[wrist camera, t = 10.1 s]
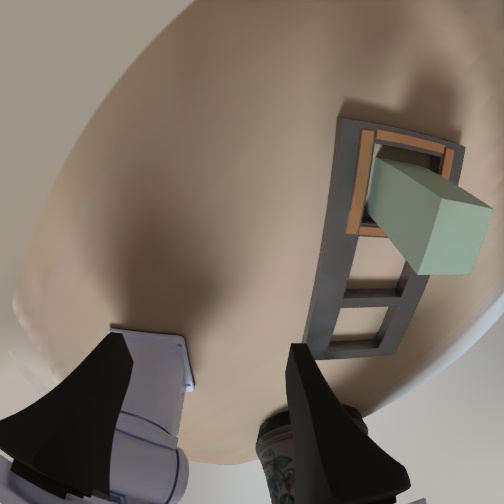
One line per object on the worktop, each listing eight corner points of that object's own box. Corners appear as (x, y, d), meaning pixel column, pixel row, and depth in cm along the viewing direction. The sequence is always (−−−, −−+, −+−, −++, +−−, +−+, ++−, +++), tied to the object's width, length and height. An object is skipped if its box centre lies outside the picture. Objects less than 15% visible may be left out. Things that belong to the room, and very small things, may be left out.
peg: (410, 215, 19) (469, 274, 12) (365, 211, 19) (417, 274, 12) (422, 165, 17) (493, 209, 10) (375, 156, 17) (441, 198, 10)
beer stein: (284, 451, 42) (289, 569, 20) (222, 414, 34) (212, 583, 12) (372, 425, 38) (396, 552, 16) (342, 378, 29) (376, 580, 8)
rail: (389, 345, 27) (393, 355, 25) (299, 351, 27) (301, 362, 25) (456, 143, 16) (467, 147, 15) (337, 116, 16) (343, 118, 15)
